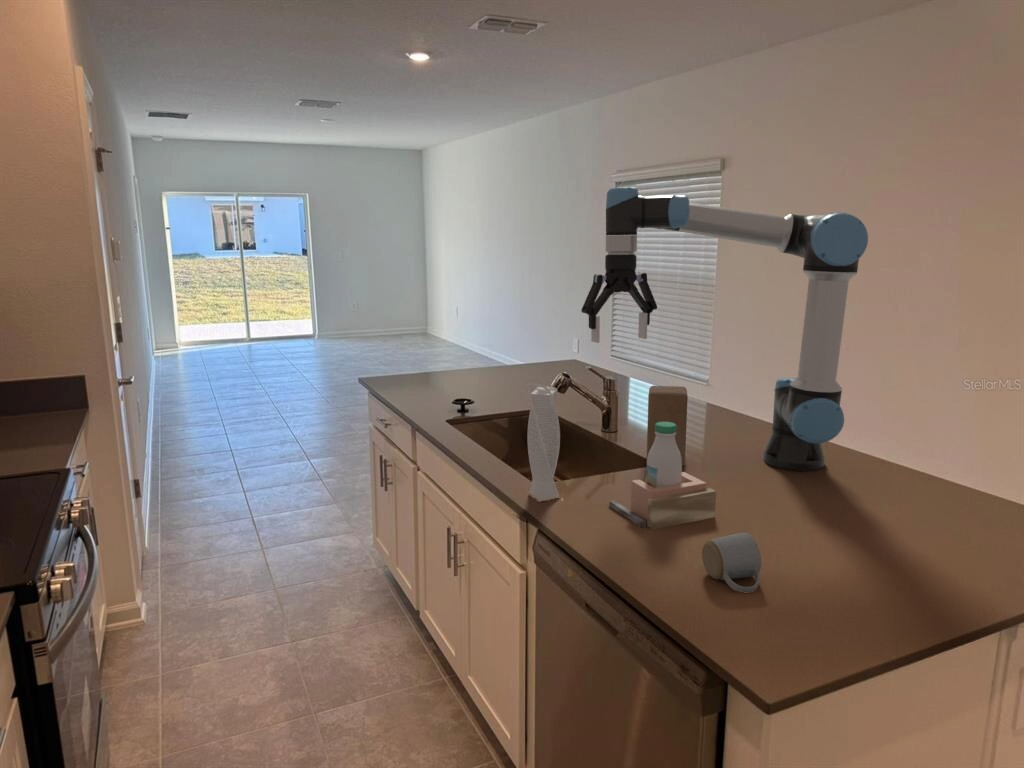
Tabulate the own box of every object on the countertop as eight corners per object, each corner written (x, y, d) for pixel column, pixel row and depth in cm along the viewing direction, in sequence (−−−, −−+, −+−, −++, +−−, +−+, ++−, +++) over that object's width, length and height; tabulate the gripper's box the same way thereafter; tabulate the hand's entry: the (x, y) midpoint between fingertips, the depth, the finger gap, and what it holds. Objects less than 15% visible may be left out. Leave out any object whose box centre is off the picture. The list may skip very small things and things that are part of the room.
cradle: (630, 510, 154) (631, 480, 153) (682, 500, 160) (684, 471, 158) (651, 523, 147) (651, 492, 146) (704, 513, 152) (706, 483, 151)
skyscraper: (536, 505, 159) (535, 386, 153) (520, 495, 165) (519, 380, 159) (565, 499, 162) (566, 382, 156) (549, 489, 169) (549, 376, 163)
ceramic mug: (698, 569, 128) (700, 530, 126) (737, 563, 130) (740, 525, 128) (729, 598, 118) (732, 557, 116) (771, 592, 120) (775, 551, 118)
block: (684, 467, 183) (687, 394, 179) (646, 465, 185) (648, 392, 181) (684, 456, 193) (686, 385, 188) (647, 454, 195) (649, 384, 191)
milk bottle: (681, 505, 158) (685, 420, 154) (678, 518, 150) (682, 429, 146) (647, 502, 160) (650, 418, 156) (642, 514, 153) (645, 427, 149)
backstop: (609, 505, 158) (609, 481, 157) (679, 493, 165) (680, 469, 164) (646, 530, 144) (646, 503, 143) (720, 515, 152) (722, 489, 150)
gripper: (655, 252, 177) (653, 334, 181) (568, 254, 167) (567, 341, 172) (673, 252, 170) (670, 338, 174) (582, 255, 160) (582, 345, 165)
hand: (619, 340), depth 173 cm, fingers open, 13 cm apart
